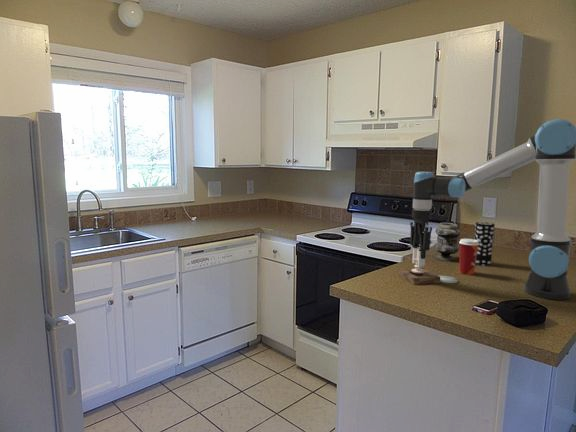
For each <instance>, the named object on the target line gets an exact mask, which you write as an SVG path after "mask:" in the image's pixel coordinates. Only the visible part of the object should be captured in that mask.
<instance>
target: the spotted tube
mask: <svg viewBox="0 0 576 432" xmlns="http://www.w3.org/2000/svg"><path fill="white" fill-rule="evenodd" d="M495 225H496V224H495V223H493V222H485V221H478V222H475V224H474V226H475V227H474V238H473V239H474V240H477V241H478V243H479V245H478V250H477V256H476V263H475V266H482V267H489V266H491V265H492V258H493V257H492V256H493V246H494V235H495Z"/></svg>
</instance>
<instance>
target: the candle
mask: <svg viewBox="0 0 576 432" xmlns="http://www.w3.org/2000/svg"><path fill="white" fill-rule="evenodd" d="M419 250H420V247H418V250H417V258H414V260H416V263H415V265H413V266H414V268H412V269H411V270H412V272H414V273H424V270H422V269H423V266H418V255H419Z"/></svg>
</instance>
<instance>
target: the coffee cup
mask: <svg viewBox="0 0 576 432" xmlns="http://www.w3.org/2000/svg"><path fill="white" fill-rule="evenodd" d="M458 243H459V265H458V266H459V273H460V274H462V275H469V276H470V275H474V274H475V269H476V264H475V263H476V256H477V250H478V245H479V243H478V241H477V240H474V238H460V241H459V242H458Z"/></svg>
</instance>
